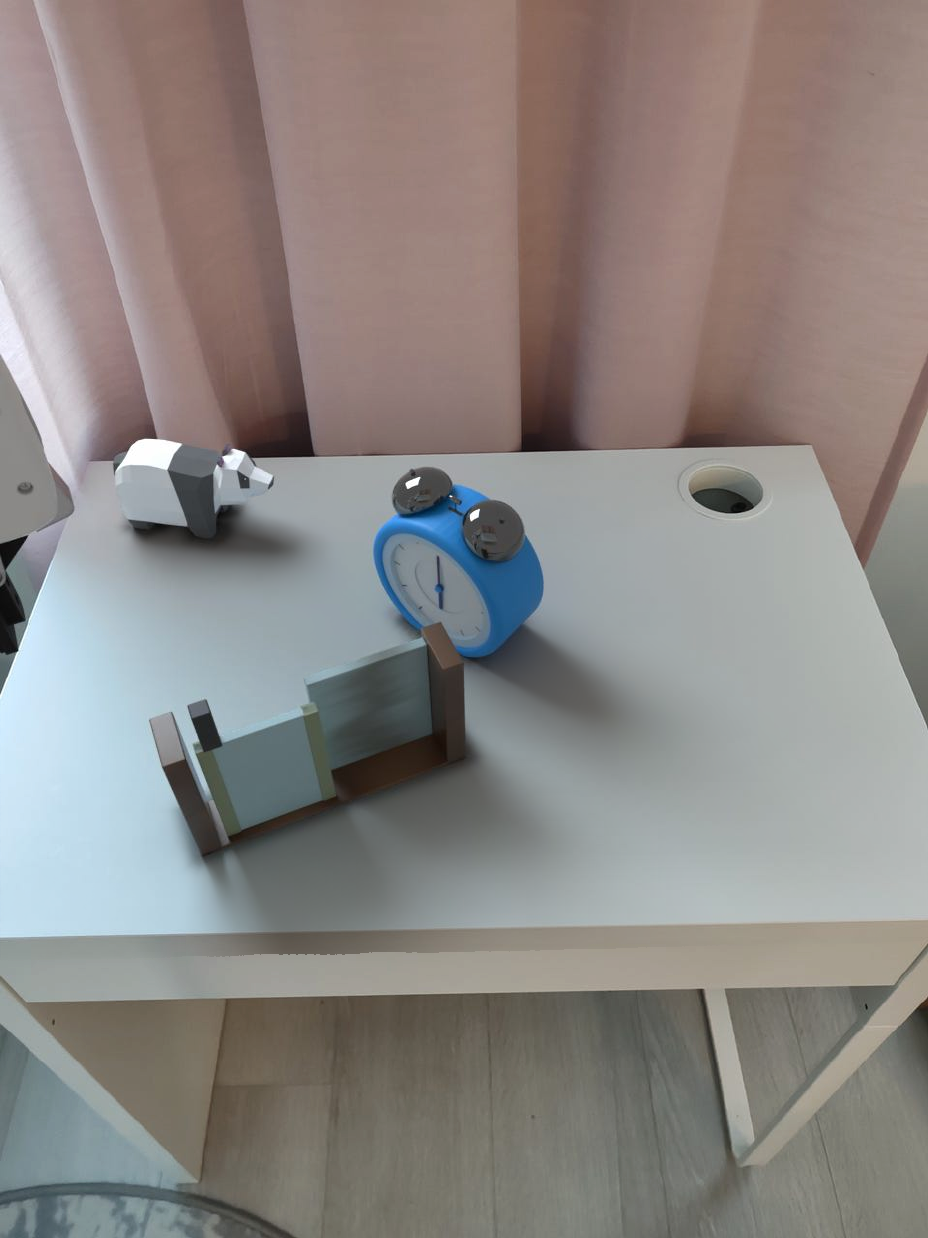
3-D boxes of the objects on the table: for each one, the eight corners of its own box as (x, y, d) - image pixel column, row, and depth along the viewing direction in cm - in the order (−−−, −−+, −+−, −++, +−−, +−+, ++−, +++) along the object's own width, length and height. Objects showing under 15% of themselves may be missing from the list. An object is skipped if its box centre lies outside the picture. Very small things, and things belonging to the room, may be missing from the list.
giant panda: (122, 538, 92) (92, 457, 84) (145, 498, 95) (118, 417, 88) (275, 557, 90) (257, 476, 83) (293, 516, 93) (277, 434, 86)
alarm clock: (377, 612, 85) (361, 478, 74) (423, 571, 88) (415, 436, 77) (498, 687, 80) (501, 555, 68) (543, 640, 83) (553, 507, 72)
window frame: (205, 865, 70) (161, 767, 60) (192, 819, 72) (148, 718, 63) (466, 766, 75) (464, 662, 65) (445, 726, 77) (440, 620, 68)
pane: (228, 838, 69) (182, 722, 59) (224, 824, 70) (178, 707, 60) (337, 798, 71) (312, 678, 61) (332, 785, 72) (306, 664, 62)
